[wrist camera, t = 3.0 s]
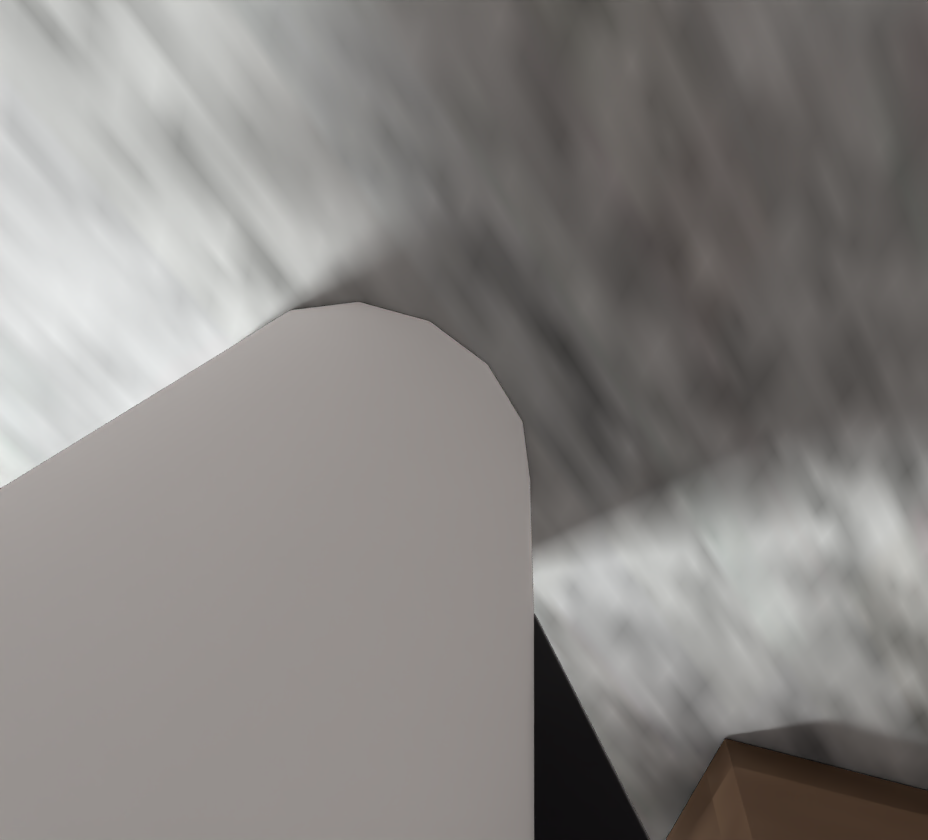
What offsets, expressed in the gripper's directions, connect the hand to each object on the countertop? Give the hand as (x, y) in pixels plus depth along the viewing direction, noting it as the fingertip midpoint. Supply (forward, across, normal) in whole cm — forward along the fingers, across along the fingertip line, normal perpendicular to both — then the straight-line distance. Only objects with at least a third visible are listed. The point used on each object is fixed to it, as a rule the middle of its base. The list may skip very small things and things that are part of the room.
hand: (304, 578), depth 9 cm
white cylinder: (+3, 0, 0) cm, 3 cm away
